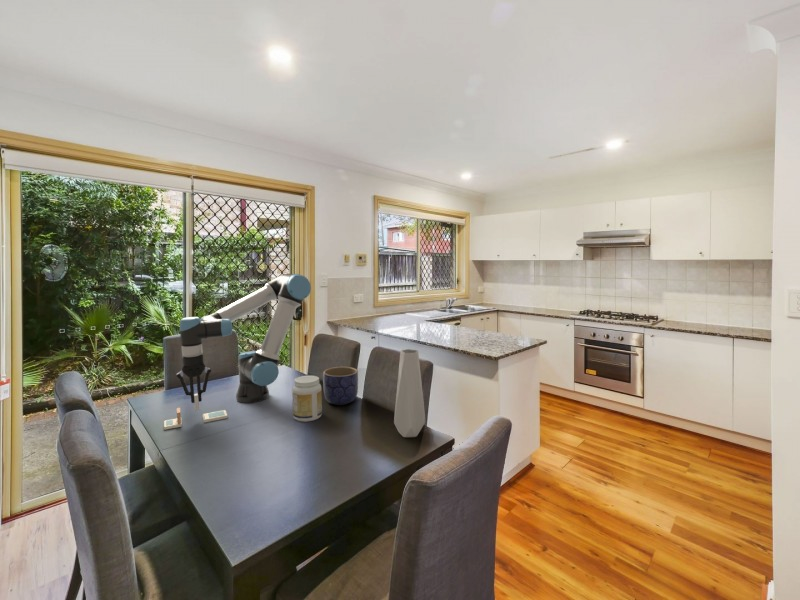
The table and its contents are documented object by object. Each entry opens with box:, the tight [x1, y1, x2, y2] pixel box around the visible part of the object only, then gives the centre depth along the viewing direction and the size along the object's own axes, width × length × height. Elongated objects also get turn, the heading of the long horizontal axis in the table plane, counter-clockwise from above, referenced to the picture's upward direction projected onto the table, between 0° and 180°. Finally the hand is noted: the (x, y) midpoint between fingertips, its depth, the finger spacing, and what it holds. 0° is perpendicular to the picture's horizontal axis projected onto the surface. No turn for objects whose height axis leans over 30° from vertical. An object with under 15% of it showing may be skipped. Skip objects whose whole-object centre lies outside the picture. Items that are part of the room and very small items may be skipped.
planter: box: [322, 366, 359, 406], centre depth 180 cm, size 17×17×15 cm
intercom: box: [163, 407, 183, 431], centre depth 153 cm, size 6×7×6 cm
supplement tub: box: [291, 375, 323, 423], centre depth 162 cm, size 12×12×17 cm
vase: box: [393, 348, 426, 438], centre depth 145 cm, size 12×12×33 cm
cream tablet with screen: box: [202, 409, 228, 423], centre depth 161 cm, size 9×7×1 cm
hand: (197, 409), depth 158 cm, fingers closed
